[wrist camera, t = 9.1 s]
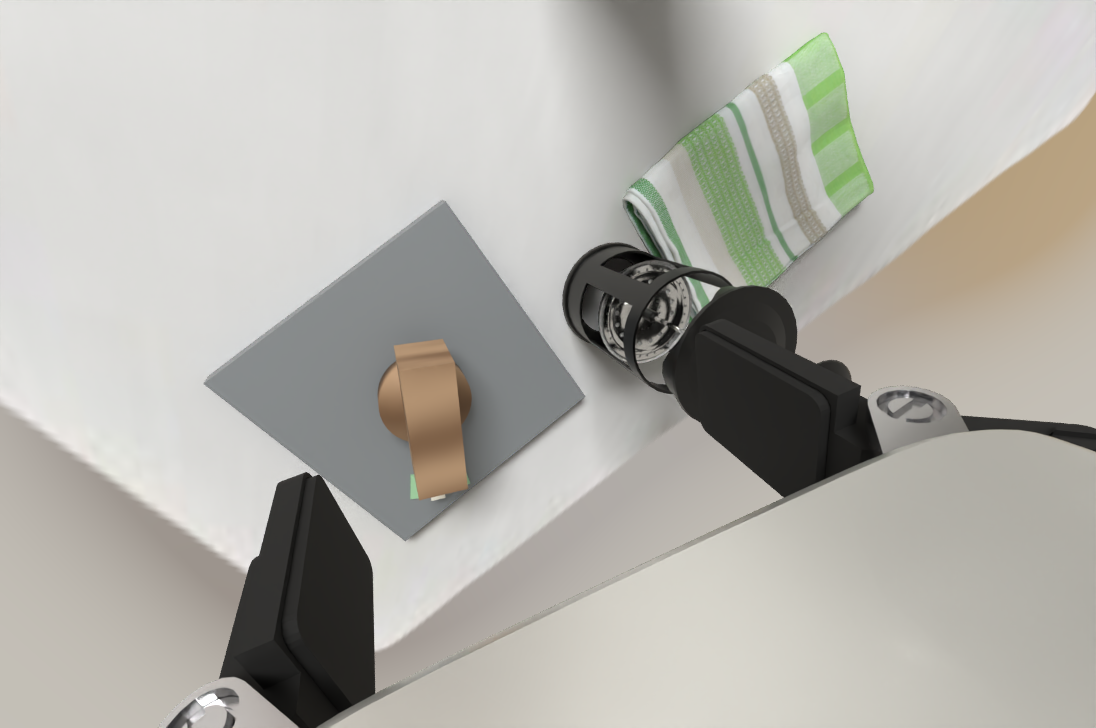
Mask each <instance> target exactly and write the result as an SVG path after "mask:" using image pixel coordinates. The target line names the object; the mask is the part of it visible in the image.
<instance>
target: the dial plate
mask: <svg viewBox="0 0 1096 728" xmlns="http://www.w3.org/2000/svg"><path fill="white" fill-rule="evenodd" d="M438 339H443V340H444V342H445V344H446V346H447V348H448V350H449V352H450V354H451V356H452V358H453V360H454V362H455V363H456V364H457V365H458V366H459V368H460V369H461V371H462V372H463V374H464V376H465V378H466V380H467V382H468V384H469V386H470V389H471V395H472V402H471V408H470V411H469V414H468V416H467V418H466V419H465V421H464V422H463V424H462V425H461V427H462V436H463V446H464V455H465V465H466V475H467V484H468V489H466V490H461V491H457V492H453V493H449V494H445V498H442V499H438V500H434V501H431V498H428V499H423V500H419V497H418V492H417V487H416V482H415V477H414V471H413V466H412V461H411V454H410V448H409V442H408V441H405V440H402V439H400V438H398V437H397V436H395V435H394V434H392V433H391V432H390V431H389V430H388V429H387V428H386V426H385V425H384V423H383V422H382V419H381V417H380V413H379V406H378V396H377V394H378V386H379V382H380V380H381V378H382V376H383V374H384V372H385V371H386V370H387V369H388V367H389V366H390V365H391V364H393V363H394V362H395V361H396V357H395V351H394V345H401V344H408V343H416V342H423V341H430V340H438ZM204 385H206V386H207V387H208V388H210V389H211V390H212V391H213V392H215V393H216V394H217V395H218V396H220V397H221V398H222V399H224V400H225V401H226V402H227V403H229V404H230V405H231V406H233V407H234V408H235V409H236V410H238V411H239V412H240V413H242V414H243V415H244V416H245V417H247V418H248V419H249V420H251V421H252V422H253V423H254V424H256V425H257V426H258V427H260V428H261V429H262V430H263V431H265V432H266V433H267V434H269V435H270V436H271V437H272V438H274V439H275V440H276V441H278V442H279V443H280V444H281V445H283V446H284V447H285V448H286V449H288V450H289V451H290V452H292V453H293V454H294V455H295V456H297V457H298V458H299V459H301V460H302V461H303V462H304V463H306V464H307V465H308V466H310V467H311V468H312V469H313V470H315V471H316V472H317V473H319V474H320V475H321V476H322V477H324V478H325V479H326V480H328V481H329V482H330V483H331V484H333V485H334V486H335V487H337V488H338V489H339V490H340V491H342V492H343V493H344V494H346V495H347V496H348V497H349V498H351V499H352V500H353V501H354V502H356V503H357V504H358V505H360V506H361V507H362V508H363V509H365V510H366V511H367V512H369V513H370V514H371V515H372V516H374V517H375V518H376V519H378V520H379V521H380V522H381V523H383V524H384V525H385V526H387V527H388V528H389V529H390V530H392V531H393V532H394V533H396V534H397V535H398V536H399V537H401V538H402V539H403V540H405V541H406V540H407V539H409V538H410V537H411V536H412V535H414V534H415V533H416V532H417V531H419V530H420V529H421V528H422V527H423V526H425V525H426V524H427V523H428V522H430V521H431V520H432V519H433V518H435V517H436V516H437V515H438V514H440V513H441V512H442V511H443V510H445V509H446V508H447V507H448V506H450V505H451V504H452V503H453V502H455V501H456V500H457V499H458V498H460V497H461V496H462V495H463V494H465V493H466V492H467V491H468V490H470V489H471V488H472V487H473V486H475V485H476V484H477V483H478V482H480V481H481V480H482V479H483V478H485V477H486V476H487V475H488V474H490V473H491V472H492V471H493V470H494V469H496V468H497V467H498V466H499V465H501V464H502V463H503V462H504V461H506V460H507V459H508V458H509V457H511V456H512V455H513V454H514V453H516V452H517V451H518V450H519V449H521V448H522V447H523V446H524V445H526V444H527V443H528V442H529V441H531V440H532V439H533V438H534V437H536V436H537V435H538V434H539V433H541V432H542V431H543V430H544V429H546V428H547V427H548V426H549V425H551V424H552V423H553V422H554V421H556V420H557V419H558V418H559V417H561V416H562V415H563V414H564V413H565V412H567V411H568V410H569V409H570V408H572V407H573V406H574V405H575V404H577V403H578V402H579V401H580V400H582V399H583V398H584V397H585V395H584V394H583V392H582V391H581V390H580V388H579V387H578V385H577V384H576V383H575V381H574V380H573V378H572V377H571V376H570V374H569V373H568V372H567V370H566V369H565V367H564V366H563V365H562V363H561V362H560V360H559V359H558V358H557V356H556V355H555V353H554V352H553V351H552V349H551V348H550V346H549V345H548V344H547V342H546V341H545V339H544V338H543V337H542V335H541V334H540V332H539V331H538V330H537V328H536V327H535V326H534V324H533V323H532V321H531V320H530V319H529V317H528V316H527V314H526V313H525V312H524V310H523V309H522V307H521V306H520V305H519V303H518V302H517V300H516V299H515V298H514V296H513V295H512V293H511V292H510V291H509V289H508V288H507V286H506V285H505V284H504V282H503V281H502V279H501V278H500V277H499V275H498V274H497V273H496V271H495V270H494V268H493V267H492V266H491V264H490V263H489V261H488V260H487V259H486V257H485V256H484V254H483V253H482V252H481V250H480V249H479V247H478V246H477V245H476V243H475V242H474V240H473V239H472V238H471V236H470V235H469V233H468V232H467V231H466V229H465V228H464V226H463V225H462V224H461V222H460V221H459V220H458V218H457V217H456V215H455V214H454V213H453V211H452V210H451V208H450V207H449V206H448V204H447V203H446V201H443V200H442V201H440V202H439V203H438V204H436V205H435V206H434V207H432V208H431V209H430V210H428V211H427V212H426V213H424V214H423V215H422V216H420V217H419V218H418V219H416V220H415V221H414V222H412V223H411V224H410V225H408V226H407V227H406V228H404V229H403V230H402V231H400V232H399V233H398V234H396V235H395V236H394V237H392V238H391V239H390V240H388V241H387V242H386V243H385V244H383V245H382V246H381V247H379V248H378V249H377V250H375V251H374V252H373V253H371V254H370V255H369V256H367V257H366V258H365V259H363V260H362V261H361V262H359V263H358V264H357V265H355V266H354V267H353V268H351V269H350V270H349V271H347V272H346V273H345V274H343V275H342V276H341V277H339V278H338V279H337V280H335V281H334V282H333V283H331V284H330V285H329V286H327V287H326V288H325V289H323V290H322V291H321V292H319V293H318V294H317V295H315V296H314V297H313V298H311V299H310V300H309V301H307V302H306V303H305V304H304V305H302V306H301V307H300V308H298V309H297V310H296V311H294V312H293V313H292V314H290V315H289V316H288V317H286V318H285V319H284V320H282V321H281V322H280V323H278V324H277V325H276V326H274V327H273V328H272V329H270V330H269V331H268V332H266V333H265V334H264V335H262V336H261V337H260V338H258V339H257V340H256V341H254V342H253V343H252V344H250V345H249V346H248V347H246V348H245V349H244V350H242V351H241V352H240V353H238V354H237V355H236V356H234V357H233V358H232V359H230V360H229V361H228V362H227V363H225V364H224V365H223V366H221V367H220V368H219V369H217V370H216V371H215V372H213V373H212V374H211V375H209V377H208V378H207V379H206V381H205V382H204Z"/></svg>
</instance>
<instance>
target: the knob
mask: <svg viewBox="0 0 1096 728" xmlns="http://www.w3.org/2000/svg"><path fill="white" fill-rule="evenodd" d="M394 351H395V357H396V361H395V362H394V363H393V364H391V365H390V366H389V367H388V369H387V370H386V371H385V372H384V374H383V376H382V378H381V380H380V382H379V386H378V394H377V396H378V406H379V413H380V417H381V419H382V422H383V423H384V425H385V426H386V428H387V429H388V430H389V431H390V432H391V433H392V434H394V435H395V436H397V437H398V438H400V439H402V440H405V441H408V442H409V448H410V454H411V461H412V466H413V471H414V477H415V482H416V487H417V492H418V497H419V500H423V499H428V498H431V501H434V500H438V499H442V498H445V494H449V493H453V492H457V491H461V490H466V489H468V484H467V475H466V465H465V455H464V446H463V436H462V427H461V425H462V424H463V422H464V421H465V419H466V418H467V416H468V414H469V411H470V408H471V402H472V395H471V389H470V386H469V384H468V382H467V380H466V378H465V376H464V374H463V372H462V371H461V369H460V368H459V366H458V365H457V364H456V363H455V362H454V360H453V358H452V356H451V354H450V352H449V350H448V348H447V346H446V344H445V342H444V340H443V339H438V340H430V341H423V342H416V343H408V344H401V345H394Z"/></svg>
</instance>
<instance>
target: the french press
mask: <svg viewBox="0 0 1096 728" xmlns="http://www.w3.org/2000/svg"><path fill="white" fill-rule="evenodd" d="M614 258H621V259H626V260H628V261H630V262H631V263H633V264H634V265H633V266H631V267H628V268H626V269H625V270H623V271H622V272H620V273H618V272H615V271H613V270H610V269H608V268H605V267H603V265H604V264H605V263H606V262H608V261H609V260H611V259H614ZM685 276H686V277H689V278H692V279H695V280H698V281H701V282H704V283H707V284H710V285H713V286H716V287H719V288H720V289H719V290H718V291H717V292H716V293H715V295H714V297H713V299H712V300H711V301H710V302H709V303H708V304H707V305H705V306H704V307H703V308H702V309H701V310H700V311H699V313H698V314H697V315H696V316H695V317H694V318H693V319H692V321H691V322H690V324H689V325H688V322H689V318H690V315H691V308H692V294H691V290H690V286H689V284H688V282H687V280H686V277H685ZM588 284H590V285H592V286H594V287H596V288H598V289H600V290H602V291H604V294H603V297H602V300H601V303H600V308H599V317H598V323H599V330H600V332H599V331H596V330H593V329H592V328H590V327H589V326H588V325H587V324H586V323H585V322H584V320H583V318H582V302H583V297H584V293H585V290H586V288H587V285H588ZM563 310H564V315H565V318H566V320H567V323H568V325H569V326H570V328H571V329H572V330H573V332H574V333H575V334H577V335H578V336H579V337H580V338H581V339H583V340H585V341H586V342H588V343H592V344H593V345H595V346H596V347H597V348H599V349H600V350H601V351H603V352H604V353H605V354H607V355H608V356H610V357H611V358H612V359H614V360H615V361H616V362H618V363H619V364H620V365H622V366H623V367H624V368H626V369H627V370H628V371H630V372H631V373H632V374H634V375H635V376H636V377H638V378H639V379H641V380H642V381H643V382H645V383H646V384H647V385H649V386H650V387H652V388H654V389H655V390H657V391H659V392H663V393H667V394H674V395H675V396H676V399H677V401H678V402H679V404H680V406H681V408H682V409H683V410H684V411H685V412H686V413H687V414H688V415H689V416H690V417H692V418H694V419H696V420H697V421H699V422H701V421H700V410H699V395H698V381H697V366H696V351H695V336H696V334H698V333H699V330H700V328H701V327H702V326H703V325H706V324H709V323H711V322H714V321H717V320H720V319H725V320H728V321H730V322H732V323H734V324H736V325H738V326H740V327H742V328H744V329H746V330H748V331H750V332H752V333H754V334H756V335H758V336H760V337H762V338H764V339H766V340H769V341H771V342H773V343H775V344H777V345H779V346H781V347H783V348H785V349H787V350H789V351H791V352H793V353H795V349H796V344H797V326H796V319H795V316H794V313H793V310H792V308H791V307H790V305H789V303H788V302H787V300H786V299H785V298H784V297H782V296H781V295H780V294H779V293H778V292H776V291H774V290H772V289H769V288H767V287H763V286H756V285H748V286H740V287H734V286H733V285H732V284H731V283H730V282H729V281H728V280H727V279H726V278H724V277H723V276H721V275H719V274H717V273H715V272H712V271H708V270H705V269H702V268H696V267H690V266H687V265H683V264H680V263H676V262H673V261H670V260H666V259H663V258H659V257H656V256H653V255H651V254H648V253H646V252H643V251H640V250H639V249H637V248H635V247H633V246H631V245H629V244H624V243H607V244H603V245H600V246H597V247H595V248H593V249H592V250H590V251H588V252H587V253H586V254H584V255H583V256H582V257H581V258H580V259H579V260H578V261H577V262H576V264H575V265H574V266H573V268H572V270H571V271H570V273H569V275H568V277H567V280H566V282H565V285H564V290H563ZM687 325H688V327H687ZM686 327H687V328H686ZM685 329H686V330H685ZM666 352H670V353H669V354H668V355H667V357H666V358H665V360H664V362H663V369H662V373H663V377H664V380H665V383H666V385H663V384H656V383H652V382H649V381H648V380H647V379H646V378H645V377H644V376H643V374H642V372H641V371H640V369H639V366H638V363H644V362H649V361H652V360H655V359H657V358H659V357H660V356H662V355H664V354H665V353H666ZM611 353H612V354H611ZM618 358H619V359H618ZM621 360H622V361H626V362H627V363H628V365H629V366H630V367H629V366H628V365H627V364H625V363H624V362H622V361H621ZM817 364H818V365H820V366H822V367H824V368H826V369H828V370H830V371H832V372H834V373H836V374H838V375H840V376H842V377H844V378H846V379H848V380H850V381H851V375H850V372H849V370H848V368H847V367H846V366H845V365H844V364H843V363H842V362H839V361H837V360H827V361H822V362H820V363H817Z"/></svg>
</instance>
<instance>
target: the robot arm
mask: <svg viewBox="0 0 1096 728" xmlns="http://www.w3.org/2000/svg"><path fill="white" fill-rule="evenodd" d="M695 351H696V366H697V381H698V395H699V410H700V421H701V424H702V426H703V428H704V430H705V431H706V432H707V433H708V434H710V436H712V437H713V438H714V439H715V440H716V441H718V442H719V443H720V444H721V445H722V446H724V447H725V448H726V449H727V450H728V451H730V452H731V453H732V454H733V455H734V456H735V457H737V458H738V459H739V460H740V461H741V462H743V463H744V464H745V465H746V466H747V467H748V468H750V469H751V470H752V471H753V472H754V473H756V474H757V475H758V476H759V477H760V478H762V479H763V480H764V481H765V482H766V483H767V484H769V485H770V486H771V487H772V488H773V489H775V490H776V491H777V492H778V493H779V494H780V495H781V496H783V497H784V498H782V499H780V500H778V501H776V502H774V503H772V504H770V505H767V506H765V507H763V508H761V509H759V510H757V511H754V512H752V513H750V514H748V515H746V516H744V517H742V518H740V519H737V520H735V521H733V522H731V523H729V524H726V525H724V526H722V527H720V528H718V529H716V530H714V531H711V532H709V533H707V534H705V535H703V536H701V537H699V538H697V539H695V540H693V541H690V542H688V543H686V544H684V545H682V546H680V547H677V548H675V549H673V550H671V551H669V552H667V553H665V554H663V555H660V556H658V557H656V558H654V559H652V560H650V561H648V562H646V563H643V564H641V565H640V566H637V567H635V568H633V569H631V570H629V571H627V572H625V573H622V574H621V575H618V576H616V577H614V578H612V579H610V580H608V581H606V582H603V583H601V584H599V585H597V586H595V587H593V588H591V589H589V590H586V591H585V592H582V593H580V594H578V595H576V596H574V597H572V598H570V599H568V600H566V601H563V602H561V603H559V604H557V605H555V606H553V607H551V608H549V609H547V610H545V611H543V612H540V613H539V614H537V615H534V616H532V617H530V618H528V619H526V620H524V621H522V622H520V623H518V624H515V625H513V626H511V627H509V628H507V629H505V630H503V631H501V632H499V633H497V634H495V635H493V636H490V637H488V638H486V639H484V640H482V641H480V642H478V643H476V644H474V645H472V646H469V647H467V648H465V649H463V650H461V651H459V652H457V653H455V654H453V655H451V656H449V657H447V658H445V659H443V660H441V661H439V662H437V663H435V664H433V665H431V666H429V667H427V668H425V669H423V670H421V671H419V672H417V673H415V674H413V675H411V676H409V677H407V678H405V679H403V680H401V681H399V682H397V683H395V684H393V685H391V686H389V687H387V688H385V689H383V690H381V691H379V692H377V693H376V694H375V661H374V611H373V572H372V566H371V563H370V560H369V558H368V556H367V554H366V552H365V551H364V549H363V547H362V545H361V544H360V542H359V540H358V539H357V537H356V535H355V533H354V532H353V530H352V528H351V526H350V525H349V523H348V521H347V519H346V518H345V516H344V514H343V513H342V511H341V509H340V507H339V506H338V504H337V502H336V500H335V499H334V497H333V495H332V494H331V492H330V490H329V488H328V487H327V485H326V483H325V481H324V480H323V478H322V477H321V476H320V475H317V476H314V477H312V476H311V475H310V474H309V473H307V472H305V473H303V474H300V475H297V476H295V477H292V478H289V479H287V480H284V481H281V482H279V483H278V485H277V487H276V491H275V495H274V499H273V503H272V507H271V511H270V515H269V519H268V523H267V527H266V531H265V535H264V539H263V542H262V546H261V550H260V554H259V556H258V557H256V558H255V559H253V560H252V562H251V564H250V567H249V570H248V573H247V577H246V581H245V585H244V588H243V592H242V596H241V599H240V603H239V607H238V610H237V614H236V618H235V622H234V625H233V629H232V633H231V636H230V640H229V644H228V647H227V651H226V655H225V659H224V662H223V666H222V670H221V673H220V677H219V679H218V680H215V681H213V682H210V683H207V684H206V685H204V686H202V687H201V688H199V689H197V690H196V691H194V692H193V693H191V694H190V695H189V696H188V697H186V698H185V699H184V700H183V701H182V702H180V703H179V704H178V705H177V706H176V707H175V708H174V709H173V710H172V711H171V712H170V713H169V715H168V716H167V717H166V718H165V719H164V720H163V721H162V722H161V724H160V725H159V727H158V728H1096V429H1095V428H1092V427H1088V426H1083V425H1077V424H1064V423H1053V422H1040V421H1026V420H1012V419H999V418H986V417H985V418H984V417H972V416H961V415H960V414H959V412H958V410H957V408H956V407H955V405H954V404H953V403H952V402H951V401H950V400H949V399H947V398H945V397H944V396H942V395H940V394H938V393H935V392H933V391H930V390H927V389H922V388H917V387H909V386H890V387H886V388H881V389H879V390H877V391H875V392H873V393H872V394H871V395H870V396H869V398H868V399H866V398H864V397H862V396H860V389H861V386H860V385H858V384H856V383H854V382H852V381H850V380H848V379H846V378H844V377H842V376H840V375H838V374H836V373H834V372H832V371H830V370H828V369H826V368H824V367H822V366H820V365H818V364H816V363H813V362H811V361H809V360H807V359H805V358H803V357H801V356H799V355H797V354H795V353H793V352H791V351H789V350H787V349H785V348H783V347H781V346H779V345H777V344H775V343H773V342H771V341H769V340H766V339H764V338H762V337H760V336H758V335H756V334H754V333H752V332H750V331H748V330H746V329H744V328H742V327H740V326H738V325H736V324H734V323H732V322H730V321H728V320H725V319H720V320H717V321H714V322H711V323H709V324H706V325H703V326H702V327H701V328H700V330H699V333H698V334H696V336H695Z"/></svg>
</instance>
